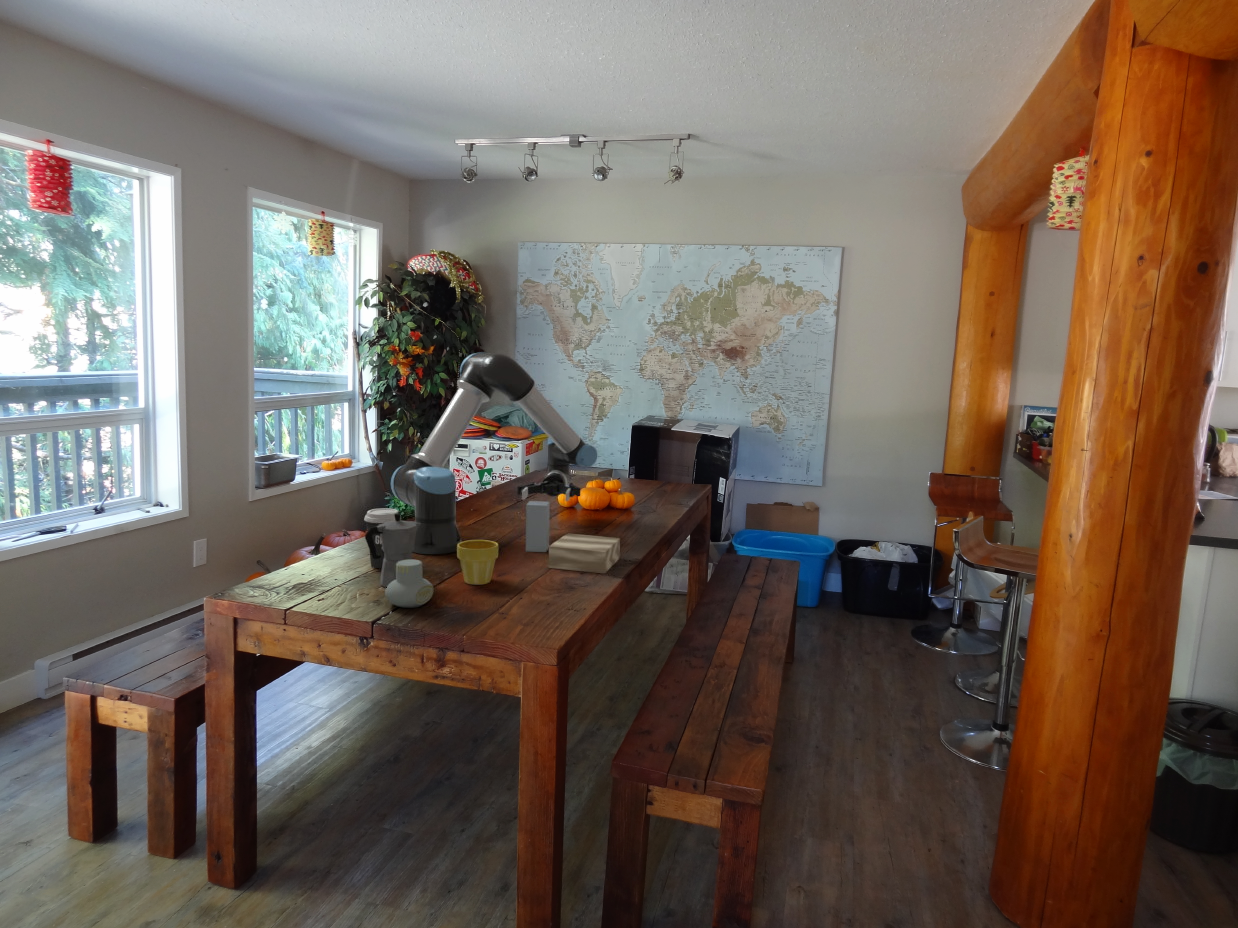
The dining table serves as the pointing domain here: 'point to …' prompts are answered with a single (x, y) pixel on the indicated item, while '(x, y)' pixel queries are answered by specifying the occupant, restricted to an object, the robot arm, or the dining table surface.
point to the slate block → (537, 526)
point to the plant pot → (477, 560)
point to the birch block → (584, 553)
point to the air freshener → (409, 585)
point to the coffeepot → (393, 545)
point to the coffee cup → (375, 519)
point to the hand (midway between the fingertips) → (544, 496)
